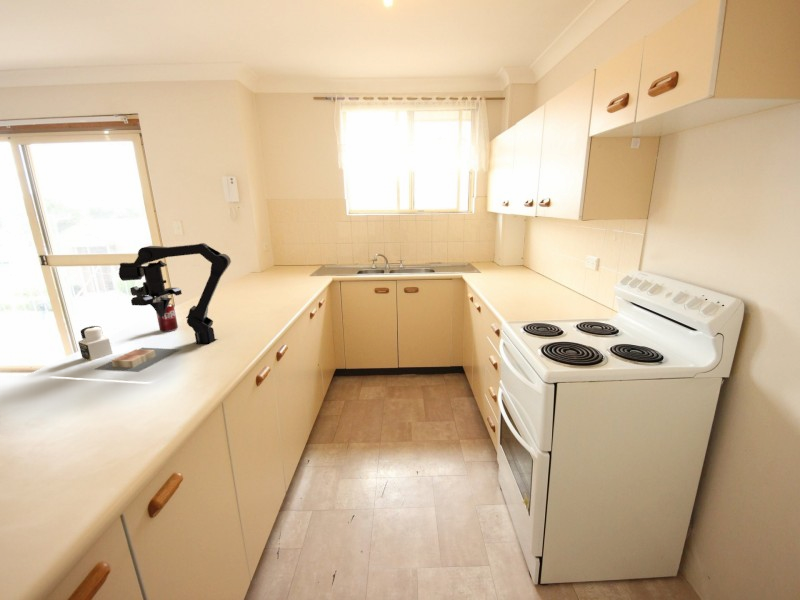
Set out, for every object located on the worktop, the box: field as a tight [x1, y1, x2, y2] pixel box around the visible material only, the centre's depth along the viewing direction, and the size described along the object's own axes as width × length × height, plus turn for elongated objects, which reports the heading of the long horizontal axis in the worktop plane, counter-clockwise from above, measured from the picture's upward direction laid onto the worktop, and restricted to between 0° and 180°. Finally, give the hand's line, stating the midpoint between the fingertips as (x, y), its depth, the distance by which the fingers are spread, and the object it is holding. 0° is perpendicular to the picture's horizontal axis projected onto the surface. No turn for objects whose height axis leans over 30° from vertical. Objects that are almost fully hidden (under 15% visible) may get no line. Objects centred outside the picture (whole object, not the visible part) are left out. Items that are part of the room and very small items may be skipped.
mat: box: [94, 347, 182, 373], centre depth 132 cm, size 18×20×1 cm
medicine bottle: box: [78, 325, 113, 361], centre depth 135 cm, size 7×7×12 cm
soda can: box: [155, 302, 179, 333], centre depth 165 cm, size 7×7×12 cm
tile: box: [111, 348, 156, 368], centre depth 130 cm, size 8×2×10 cm
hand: (161, 316), depth 142 cm, fingers closed
